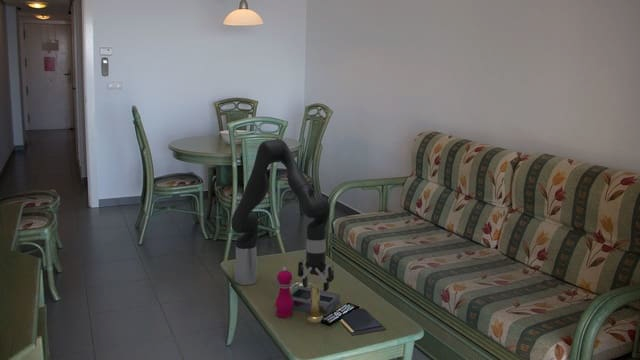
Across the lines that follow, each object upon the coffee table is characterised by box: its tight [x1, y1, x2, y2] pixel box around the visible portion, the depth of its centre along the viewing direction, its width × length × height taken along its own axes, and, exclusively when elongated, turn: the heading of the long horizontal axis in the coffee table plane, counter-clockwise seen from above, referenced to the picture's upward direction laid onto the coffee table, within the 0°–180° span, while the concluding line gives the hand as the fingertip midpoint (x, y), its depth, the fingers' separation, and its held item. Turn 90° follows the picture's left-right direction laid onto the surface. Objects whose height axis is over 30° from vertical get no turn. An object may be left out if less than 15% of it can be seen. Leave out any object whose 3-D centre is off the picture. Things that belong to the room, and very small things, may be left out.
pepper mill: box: [274, 266, 293, 319], centre depth 223 cm, size 7×7×20 cm
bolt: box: [306, 284, 324, 324], centre depth 220 cm, size 6×6×14 cm
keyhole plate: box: [290, 285, 341, 317], centre depth 234 cm, size 19×14×4 cm
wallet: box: [340, 307, 387, 337], centre depth 220 cm, size 20×2×15 cm
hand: (315, 288), depth 219 cm, fingers open, 8 cm apart
